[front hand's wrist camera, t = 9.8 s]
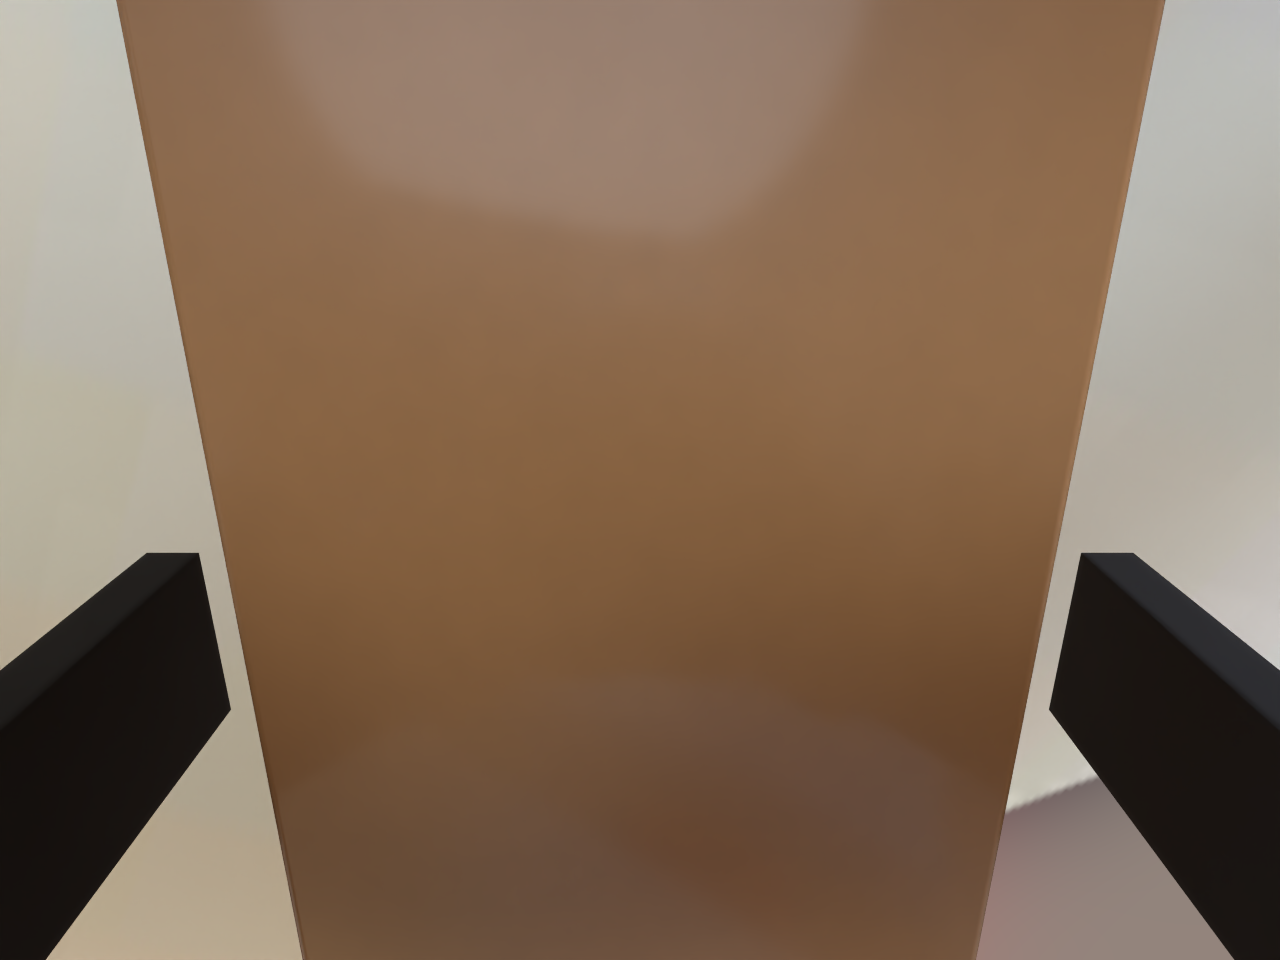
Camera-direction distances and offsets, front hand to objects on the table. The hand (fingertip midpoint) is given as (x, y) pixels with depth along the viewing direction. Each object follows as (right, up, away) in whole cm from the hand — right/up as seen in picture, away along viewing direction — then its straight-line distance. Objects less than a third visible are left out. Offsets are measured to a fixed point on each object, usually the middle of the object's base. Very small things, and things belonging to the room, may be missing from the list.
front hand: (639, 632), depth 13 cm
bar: (0, +10, -1) cm, 10 cm away
